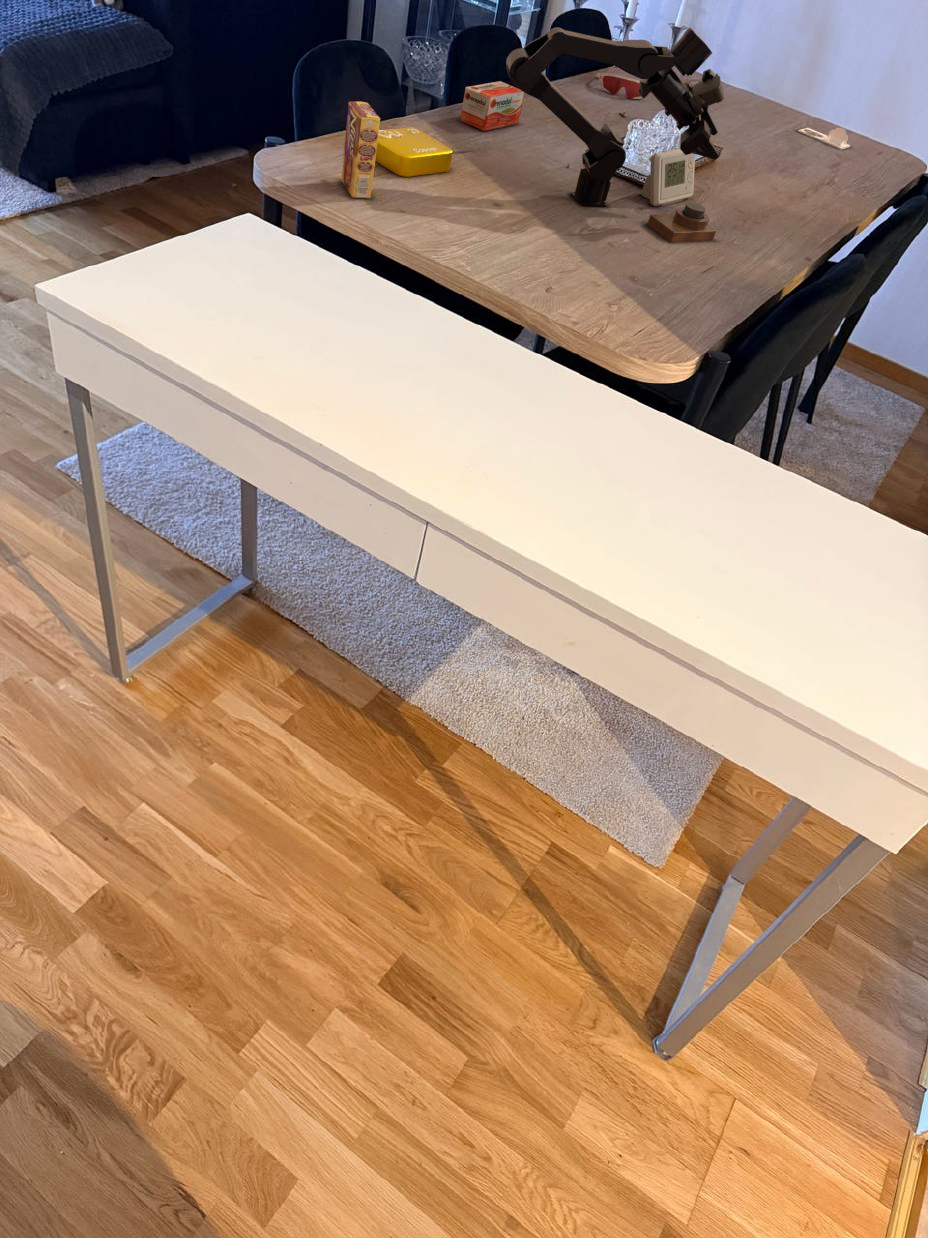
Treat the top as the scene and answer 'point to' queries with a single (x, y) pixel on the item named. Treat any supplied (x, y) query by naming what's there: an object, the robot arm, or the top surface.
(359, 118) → the candy box
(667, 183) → the digital clock
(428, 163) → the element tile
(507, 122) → the medicine box
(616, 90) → the sunglasses
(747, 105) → the top surface
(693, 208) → the button
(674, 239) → the button box
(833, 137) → the white stand
